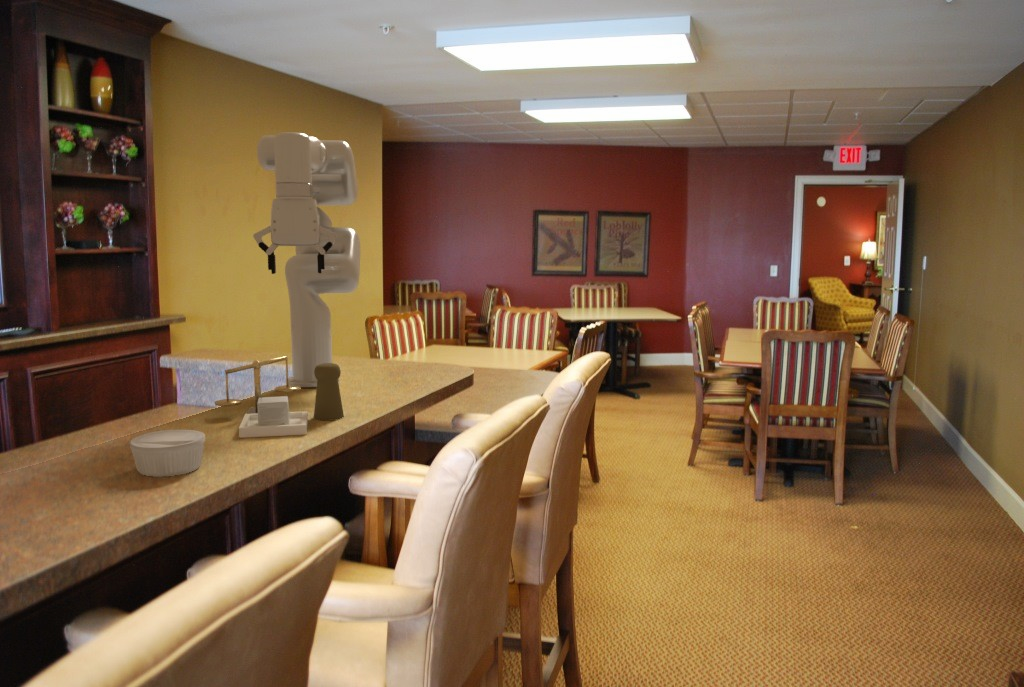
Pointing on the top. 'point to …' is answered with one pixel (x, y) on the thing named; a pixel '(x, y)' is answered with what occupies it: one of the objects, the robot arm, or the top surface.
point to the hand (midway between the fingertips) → (296, 273)
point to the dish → (274, 426)
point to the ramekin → (168, 452)
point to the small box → (273, 411)
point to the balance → (256, 383)
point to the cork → (328, 392)
